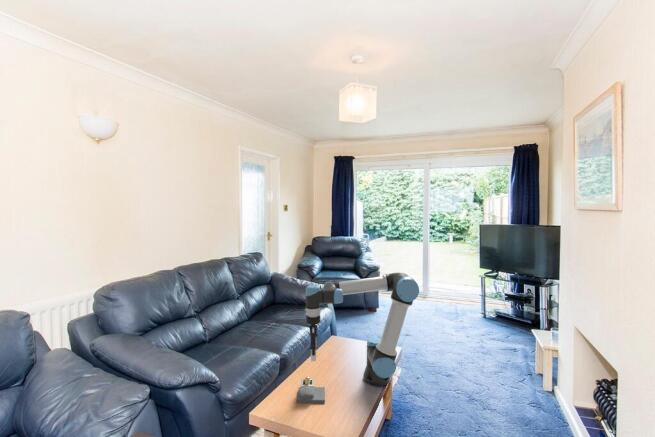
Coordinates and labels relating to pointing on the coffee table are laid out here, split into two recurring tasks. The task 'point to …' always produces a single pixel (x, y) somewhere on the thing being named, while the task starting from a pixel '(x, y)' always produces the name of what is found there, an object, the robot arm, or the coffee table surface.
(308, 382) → the pin
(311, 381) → the steel collar
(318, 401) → the keeper plate
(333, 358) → the coffee table surface
